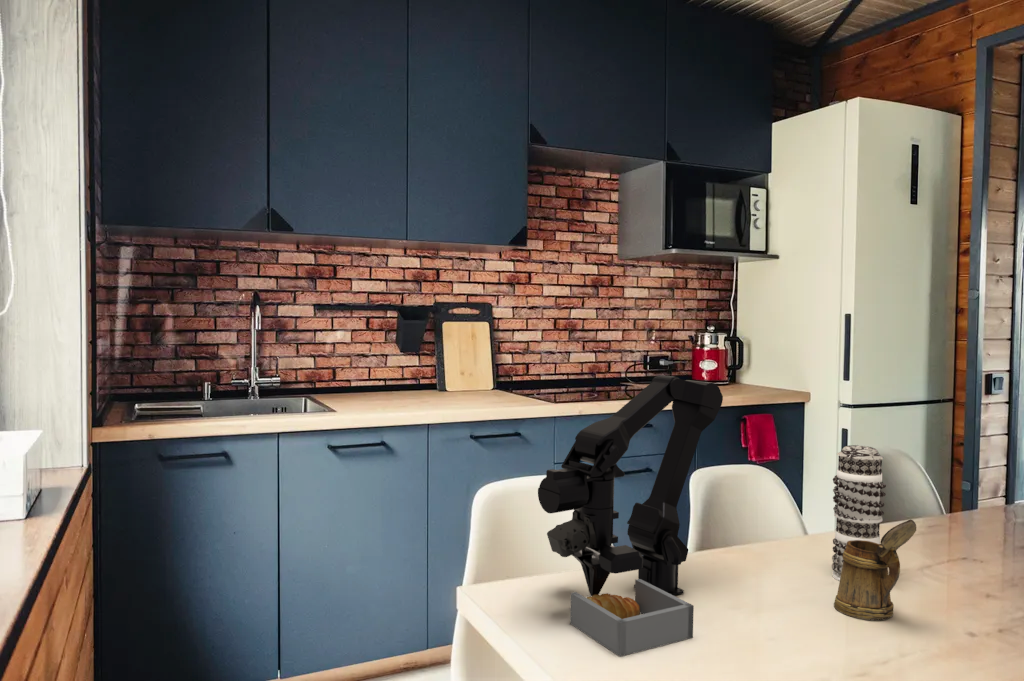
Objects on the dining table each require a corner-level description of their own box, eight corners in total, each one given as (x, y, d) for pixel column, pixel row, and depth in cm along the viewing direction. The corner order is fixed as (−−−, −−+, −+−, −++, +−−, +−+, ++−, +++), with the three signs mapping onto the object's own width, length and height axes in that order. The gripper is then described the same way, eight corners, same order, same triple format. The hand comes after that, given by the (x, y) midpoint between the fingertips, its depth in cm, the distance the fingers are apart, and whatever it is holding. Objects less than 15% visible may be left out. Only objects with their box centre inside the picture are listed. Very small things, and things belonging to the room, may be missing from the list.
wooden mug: (885, 635, 120) (890, 522, 119) (822, 603, 132) (826, 500, 131) (928, 628, 123) (932, 517, 122) (862, 597, 135) (866, 497, 134)
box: (639, 607, 129) (639, 578, 129) (692, 637, 118) (693, 605, 118) (570, 623, 122) (570, 592, 122) (619, 656, 111) (620, 622, 111)
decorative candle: (834, 584, 142) (838, 450, 141) (825, 567, 151) (830, 442, 150) (887, 589, 140) (892, 453, 138) (876, 572, 149) (880, 444, 147)
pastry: (626, 606, 130) (627, 584, 130) (648, 621, 124) (649, 598, 124) (578, 614, 127) (578, 591, 127) (598, 630, 121) (599, 606, 120)
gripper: (526, 496, 132) (525, 585, 133) (587, 525, 116) (585, 626, 116) (580, 490, 137) (578, 575, 138) (646, 516, 121) (643, 613, 122)
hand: (594, 596), depth 128 cm, fingers closed
